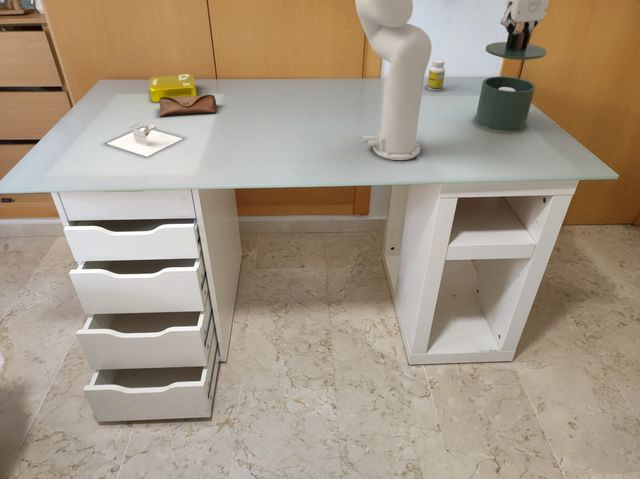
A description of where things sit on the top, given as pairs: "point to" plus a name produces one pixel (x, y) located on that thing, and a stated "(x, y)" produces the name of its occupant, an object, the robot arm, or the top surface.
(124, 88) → the top surface
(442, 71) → the supplement bottle
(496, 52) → the lid
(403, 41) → the robot arm
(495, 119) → the tin
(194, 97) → the sunglasses case
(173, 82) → the yellow plastic box
